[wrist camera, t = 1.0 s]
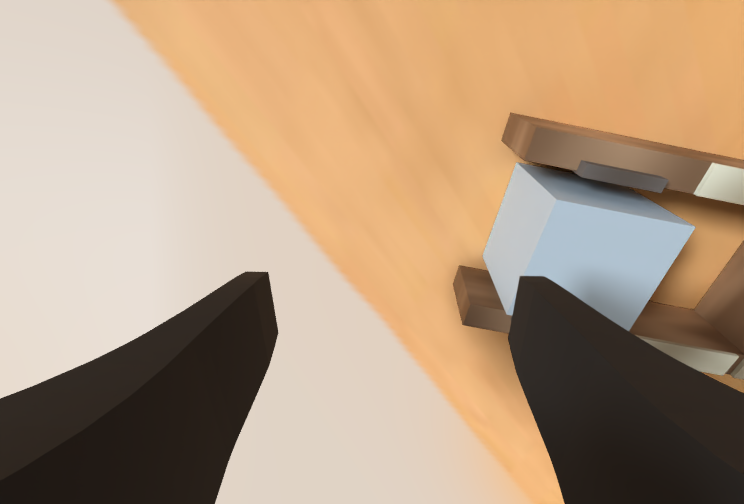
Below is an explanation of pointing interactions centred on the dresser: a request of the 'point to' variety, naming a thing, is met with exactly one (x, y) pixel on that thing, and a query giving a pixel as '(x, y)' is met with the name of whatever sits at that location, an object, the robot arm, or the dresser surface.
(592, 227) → the slate block
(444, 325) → the dresser surface
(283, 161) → the dresser surface
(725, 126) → the dresser surface
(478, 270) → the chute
